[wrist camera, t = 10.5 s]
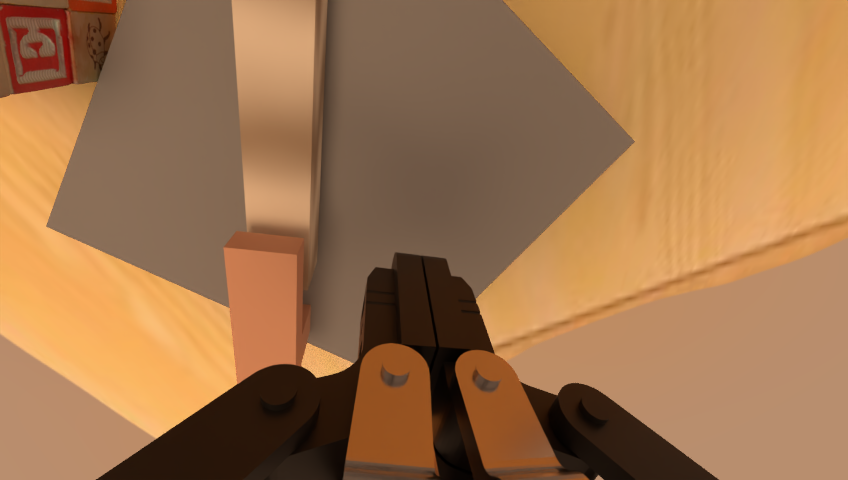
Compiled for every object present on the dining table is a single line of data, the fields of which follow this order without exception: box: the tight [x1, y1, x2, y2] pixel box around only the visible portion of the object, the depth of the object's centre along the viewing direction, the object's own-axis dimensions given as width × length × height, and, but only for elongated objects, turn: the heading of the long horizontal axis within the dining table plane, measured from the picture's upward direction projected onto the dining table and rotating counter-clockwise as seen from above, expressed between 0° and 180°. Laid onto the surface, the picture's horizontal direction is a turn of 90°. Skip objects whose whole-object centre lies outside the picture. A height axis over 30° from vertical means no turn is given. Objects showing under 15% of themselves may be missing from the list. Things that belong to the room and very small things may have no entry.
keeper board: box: [46, 0, 635, 384], centre depth 18 cm, size 24×24×8 cm
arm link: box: [232, 0, 328, 290], centre depth 16 cm, size 19×4×4 cm, turn 170°
